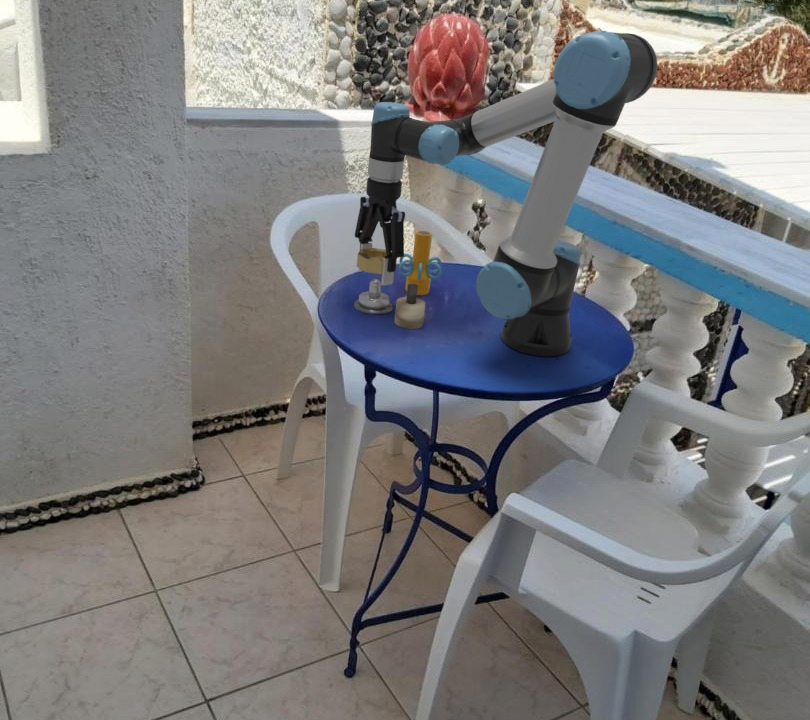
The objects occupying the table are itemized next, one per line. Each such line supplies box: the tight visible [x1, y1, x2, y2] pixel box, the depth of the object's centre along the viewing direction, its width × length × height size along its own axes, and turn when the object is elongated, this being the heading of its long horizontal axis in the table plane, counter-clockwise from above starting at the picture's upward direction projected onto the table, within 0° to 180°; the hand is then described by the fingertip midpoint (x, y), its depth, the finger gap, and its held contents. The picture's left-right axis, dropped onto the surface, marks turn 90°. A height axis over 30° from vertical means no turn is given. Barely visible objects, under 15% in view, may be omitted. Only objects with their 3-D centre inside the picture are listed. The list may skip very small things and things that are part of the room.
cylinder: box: [398, 229, 442, 296], centre depth 187 cm, size 12×10×15 cm
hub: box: [353, 278, 394, 316], centre depth 177 cm, size 9×9×7 cm
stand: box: [394, 284, 426, 330], centre depth 170 cm, size 6×6×9 cm
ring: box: [356, 247, 397, 275], centre depth 173 cm, size 8×8×3 cm
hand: (375, 277), depth 175 cm, fingers closed on ring, 8 cm apart
